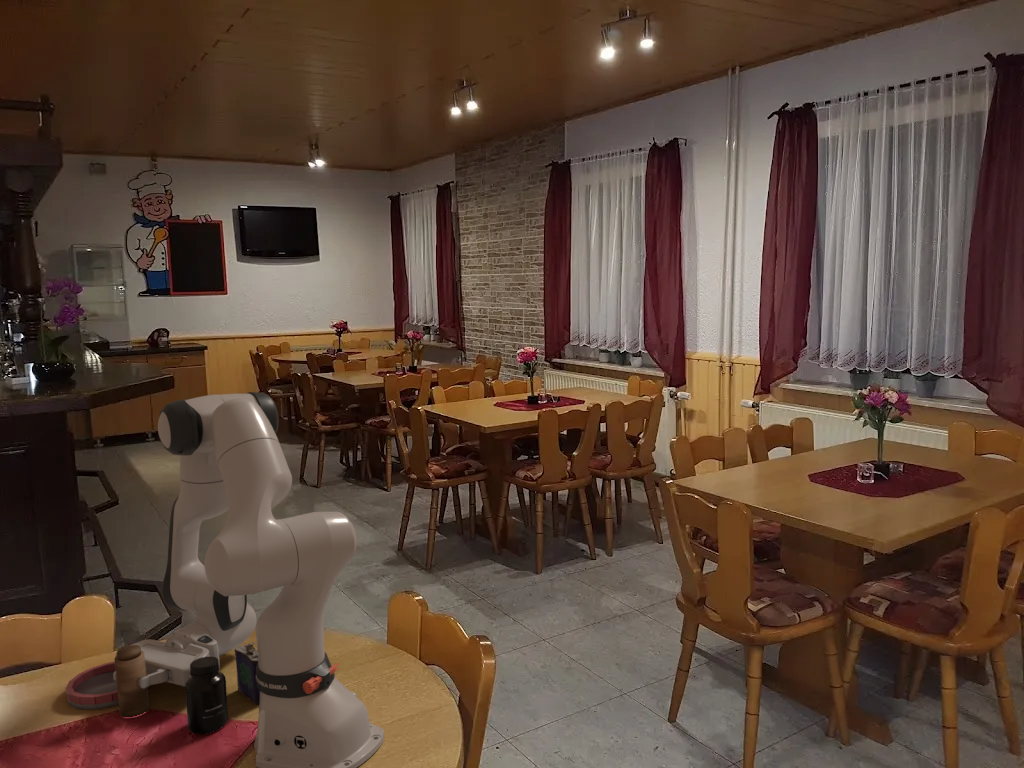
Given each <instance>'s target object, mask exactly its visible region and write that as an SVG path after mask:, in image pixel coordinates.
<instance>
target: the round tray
mask: <svg viewBox="0 0 1024 768" xmlns="http://www.w3.org/2000/svg"><path fill="white" fill-rule="evenodd" d="M115 671H116V670H115V661H110V662H105V663H103V664H99V665H96V666H93V667H90V668H89V669H86V670H84V671H82V672H80V673H78V674H77V675H75V676H74V677H73V678H71V679H70V680H69V681H68V683H67V685H66V687H65V695H66V697H67V704H68V705H69V706H70V707H72V708H75V709H79V710H87V711H88V710H89V711H90V710H101V709H106V708H111V707H115V706H119V700H118V690H117V681H114V678H113V673H114V672H115ZM151 686H152V685H150V686H148V687H147V688H148V689H149V688H150V687H151Z"/></svg>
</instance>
